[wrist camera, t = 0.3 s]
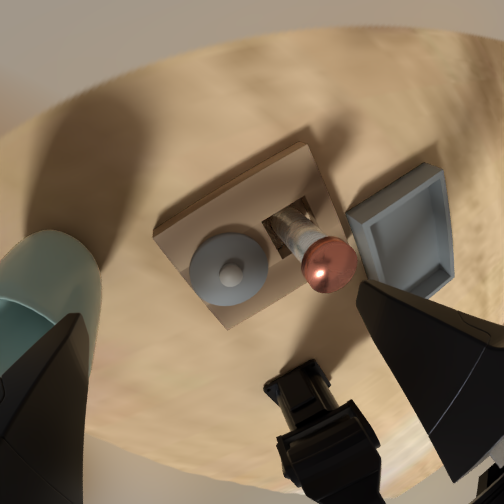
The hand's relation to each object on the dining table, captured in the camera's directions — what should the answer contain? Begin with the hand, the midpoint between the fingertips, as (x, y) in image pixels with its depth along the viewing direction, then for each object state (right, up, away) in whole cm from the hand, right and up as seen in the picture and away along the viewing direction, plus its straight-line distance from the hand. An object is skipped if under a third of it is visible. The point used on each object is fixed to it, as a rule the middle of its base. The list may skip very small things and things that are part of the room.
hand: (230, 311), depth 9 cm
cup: (-14, +1, +11) cm, 18 cm away
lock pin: (+3, +4, +15) cm, 15 cm away
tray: (+15, +2, +19) cm, 25 cm away
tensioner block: (+1, +3, +15) cm, 15 cm away
